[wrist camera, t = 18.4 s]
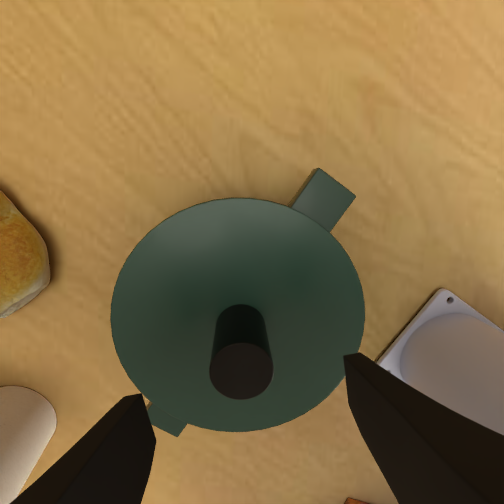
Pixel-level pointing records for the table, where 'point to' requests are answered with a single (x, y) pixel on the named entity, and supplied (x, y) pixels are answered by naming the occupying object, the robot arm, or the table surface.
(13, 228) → the bread roll
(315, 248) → the lid
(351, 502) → the milk carton
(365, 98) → the table surface
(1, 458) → the dixie cup
